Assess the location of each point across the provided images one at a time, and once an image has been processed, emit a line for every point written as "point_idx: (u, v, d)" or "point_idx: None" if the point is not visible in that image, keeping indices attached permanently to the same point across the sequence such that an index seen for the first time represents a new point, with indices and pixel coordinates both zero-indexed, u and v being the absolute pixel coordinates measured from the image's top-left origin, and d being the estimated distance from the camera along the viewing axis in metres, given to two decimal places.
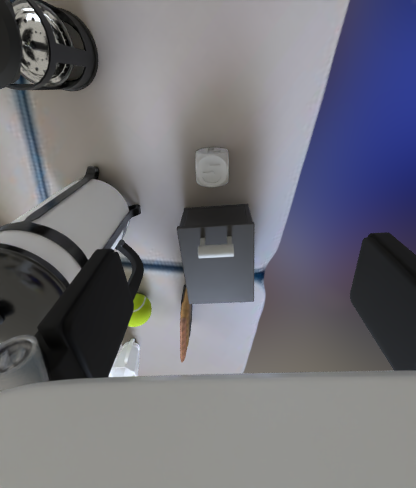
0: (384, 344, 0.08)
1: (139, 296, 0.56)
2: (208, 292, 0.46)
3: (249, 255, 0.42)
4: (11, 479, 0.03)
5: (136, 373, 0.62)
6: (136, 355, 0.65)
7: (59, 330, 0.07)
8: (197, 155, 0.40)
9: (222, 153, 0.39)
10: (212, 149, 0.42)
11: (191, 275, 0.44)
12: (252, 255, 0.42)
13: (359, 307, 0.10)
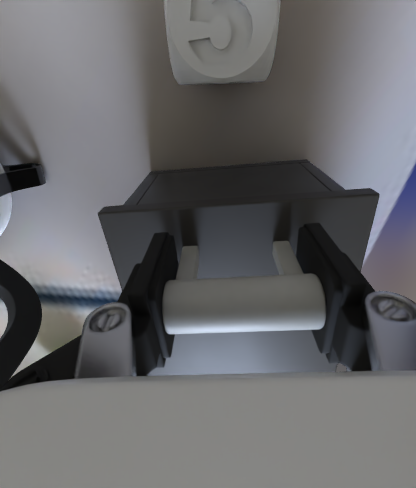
0: None
1: None
2: None
3: None
4: (11, 479, 0.03)
5: None
6: None
7: (146, 298, 0.07)
8: None
9: None
10: None
11: None
12: None
13: None
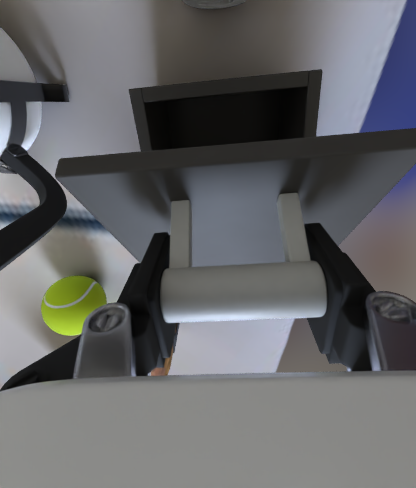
0: (311, 321, 0.09)
1: (81, 279, 0.31)
2: None
3: (338, 230, 0.13)
4: (11, 479, 0.03)
5: None
6: None
7: (145, 298, 0.07)
8: None
9: None
10: None
11: None
12: (347, 230, 0.13)
13: None
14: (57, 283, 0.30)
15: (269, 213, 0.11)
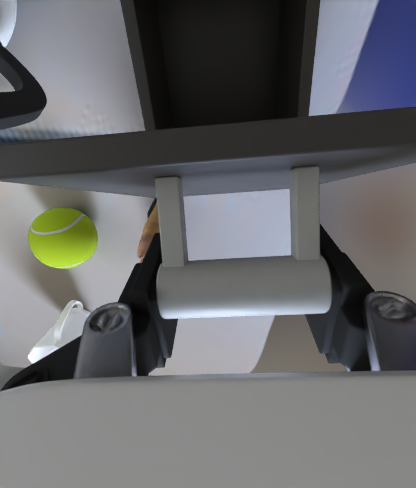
0: (310, 321, 0.09)
1: (69, 210, 0.29)
2: (199, 193, 0.18)
3: (357, 173, 0.11)
4: (11, 479, 0.03)
5: None
6: (82, 328, 0.39)
7: (146, 298, 0.07)
8: None
9: None
10: None
11: (148, 193, 0.15)
12: (367, 172, 0.11)
13: None
14: (44, 212, 0.29)
15: (278, 173, 0.09)
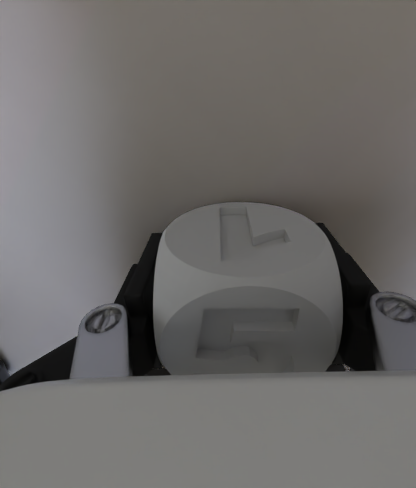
0: None
1: None
2: None
3: None
4: (11, 479, 0.03)
5: None
6: None
7: (142, 299, 0.07)
8: (164, 268, 0.07)
9: (311, 264, 0.07)
10: (238, 211, 0.10)
11: None
12: None
13: None
14: None
15: None
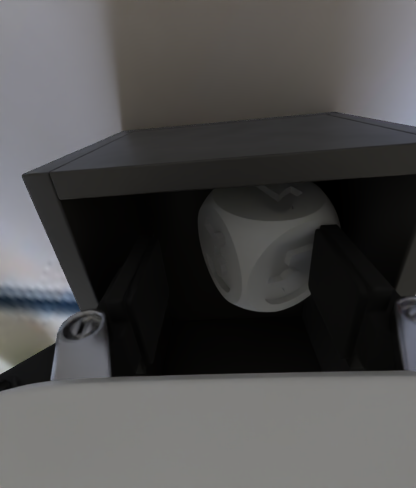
0: (329, 325, 0.09)
1: None
2: None
3: None
4: (11, 479, 0.03)
5: None
6: None
7: (123, 304, 0.07)
8: (239, 229, 0.10)
9: None
10: None
11: None
12: None
13: (314, 293, 0.11)
14: None
15: None
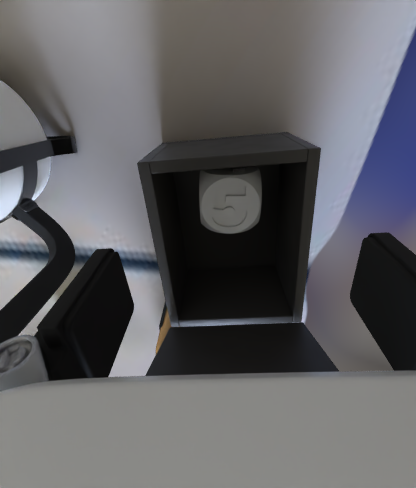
0: (384, 344, 0.08)
1: None
2: None
3: None
4: (11, 479, 0.03)
5: None
6: None
7: (59, 330, 0.07)
8: (203, 177, 0.21)
9: (250, 174, 0.21)
10: None
11: None
12: None
13: (359, 307, 0.10)
14: None
15: None
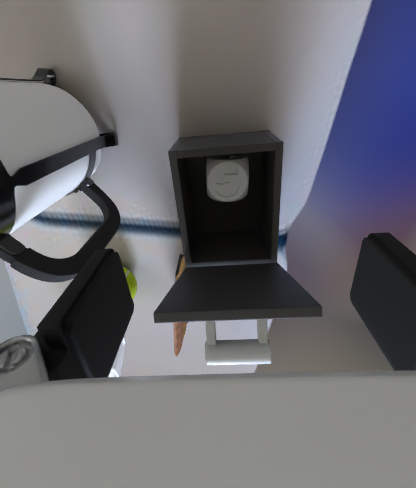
0: (384, 344, 0.08)
1: None
2: None
3: None
4: (11, 479, 0.03)
5: (118, 372, 0.48)
6: (119, 349, 0.51)
7: (59, 330, 0.07)
8: (209, 162, 0.31)
9: (241, 159, 0.31)
10: None
11: None
12: None
13: (359, 307, 0.10)
14: None
15: None
